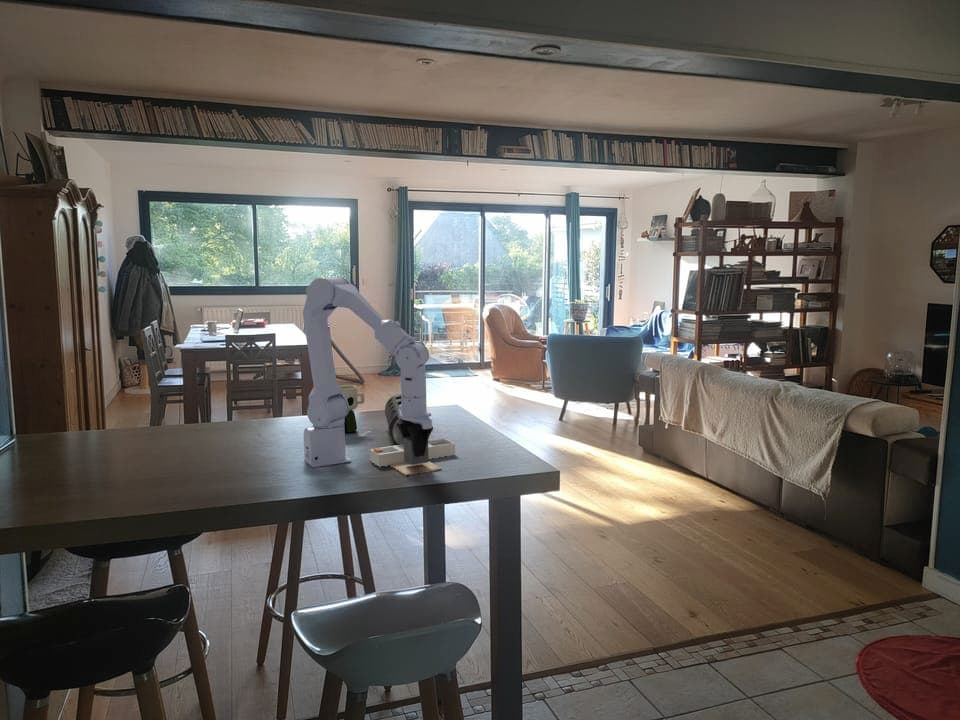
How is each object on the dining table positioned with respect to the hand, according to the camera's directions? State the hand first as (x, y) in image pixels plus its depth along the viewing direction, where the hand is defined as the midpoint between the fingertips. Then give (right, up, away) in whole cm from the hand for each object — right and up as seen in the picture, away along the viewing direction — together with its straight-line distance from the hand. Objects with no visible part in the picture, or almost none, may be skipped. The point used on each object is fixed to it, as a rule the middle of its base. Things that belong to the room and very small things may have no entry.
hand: (415, 453), depth 158 cm
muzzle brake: (-6, 0, +28) cm, 28 cm away
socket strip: (-1, -2, +9) cm, 9 cm away
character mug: (-23, +1, +37) cm, 44 cm away
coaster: (0, -3, 0) cm, 3 cm away
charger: (0, -2, 0) cm, 2 cm away
